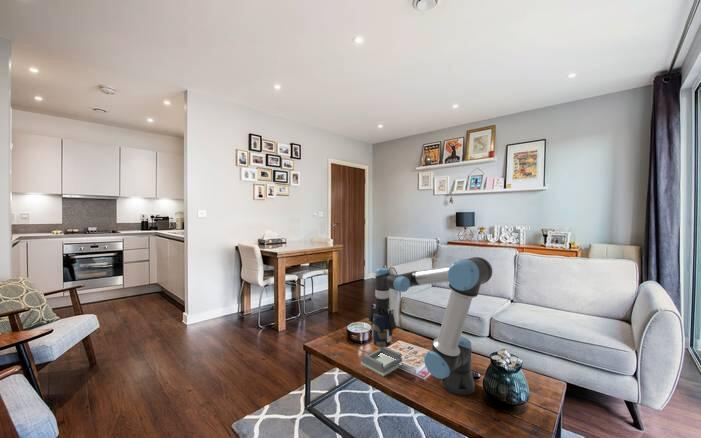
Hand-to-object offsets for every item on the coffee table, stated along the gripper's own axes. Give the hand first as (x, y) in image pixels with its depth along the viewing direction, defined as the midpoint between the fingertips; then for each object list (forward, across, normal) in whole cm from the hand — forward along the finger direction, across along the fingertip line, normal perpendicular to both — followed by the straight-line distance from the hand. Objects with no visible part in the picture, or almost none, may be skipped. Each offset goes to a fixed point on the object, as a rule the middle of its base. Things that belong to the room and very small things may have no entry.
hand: (381, 338), depth 157 cm
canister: (+4, 0, 0) cm, 4 cm away
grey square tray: (+14, 0, 0) cm, 14 cm away
